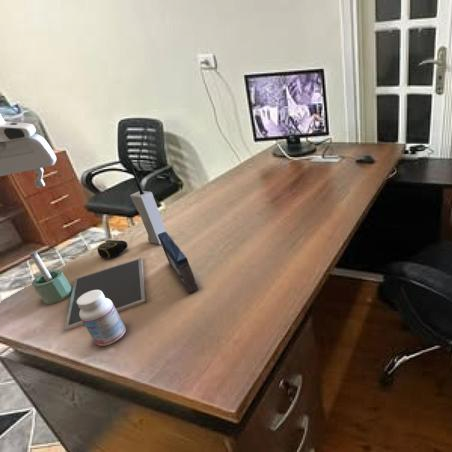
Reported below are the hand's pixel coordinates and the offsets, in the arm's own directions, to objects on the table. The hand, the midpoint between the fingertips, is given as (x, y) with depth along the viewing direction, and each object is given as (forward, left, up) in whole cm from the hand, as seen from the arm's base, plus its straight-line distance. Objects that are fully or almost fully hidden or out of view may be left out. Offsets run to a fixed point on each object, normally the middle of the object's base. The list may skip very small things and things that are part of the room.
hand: (17, 191), depth 84 cm
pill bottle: (+11, -31, -27) cm, 43 cm away
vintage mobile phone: (+24, +8, -27) cm, 37 cm away
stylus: (-2, -6, -27) cm, 27 cm away
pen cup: (-2, -6, -27) cm, 28 cm away
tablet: (+10, -12, -27) cm, 31 cm away
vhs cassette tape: (+28, -17, -27) cm, 43 cm away
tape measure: (+11, +9, -27) cm, 31 cm away
